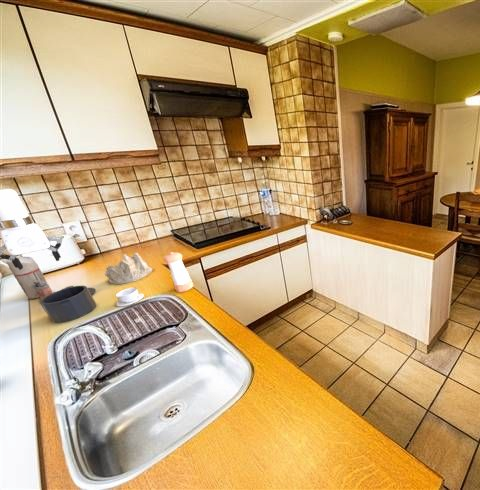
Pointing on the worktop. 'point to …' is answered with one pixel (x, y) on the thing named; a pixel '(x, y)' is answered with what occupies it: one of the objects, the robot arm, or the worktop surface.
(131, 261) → the jagged rock
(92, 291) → the pot lid
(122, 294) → the teacup
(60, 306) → the pot
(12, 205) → the robot arm
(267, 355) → the worktop surface
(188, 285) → the salt shaker
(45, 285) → the lighter
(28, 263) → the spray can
